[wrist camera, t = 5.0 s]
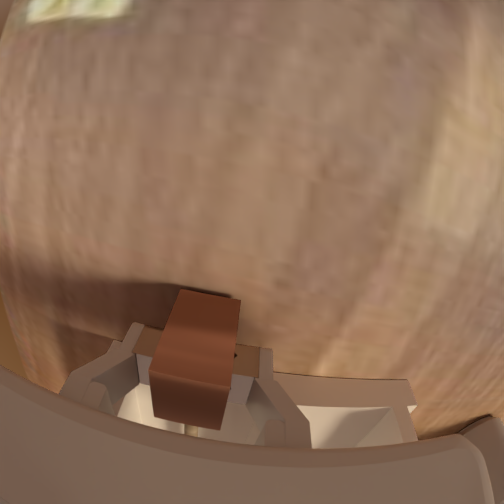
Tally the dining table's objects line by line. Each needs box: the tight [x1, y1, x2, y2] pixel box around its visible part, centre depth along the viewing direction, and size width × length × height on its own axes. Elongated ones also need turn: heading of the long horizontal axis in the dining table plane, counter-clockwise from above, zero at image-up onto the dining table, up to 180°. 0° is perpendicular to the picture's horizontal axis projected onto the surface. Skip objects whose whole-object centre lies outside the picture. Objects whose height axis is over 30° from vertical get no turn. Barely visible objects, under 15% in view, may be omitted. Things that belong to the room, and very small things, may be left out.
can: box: [457, 416, 504, 504], centre depth 15 cm, size 8×8×12 cm
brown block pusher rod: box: [148, 289, 241, 437], centre depth 14 cm, size 24×5×7 cm, turn 169°
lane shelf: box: [107, 340, 418, 448], centre depth 16 cm, size 22×17×7 cm
